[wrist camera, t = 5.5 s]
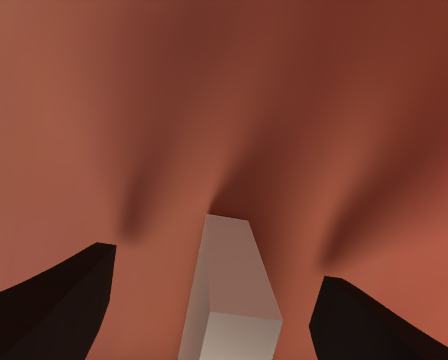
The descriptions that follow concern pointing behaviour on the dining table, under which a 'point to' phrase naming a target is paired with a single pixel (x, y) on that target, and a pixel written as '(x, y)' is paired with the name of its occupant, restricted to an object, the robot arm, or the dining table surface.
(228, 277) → the pale narrow strip
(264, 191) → the dining table surface
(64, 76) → the dining table surface
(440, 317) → the dining table surface
